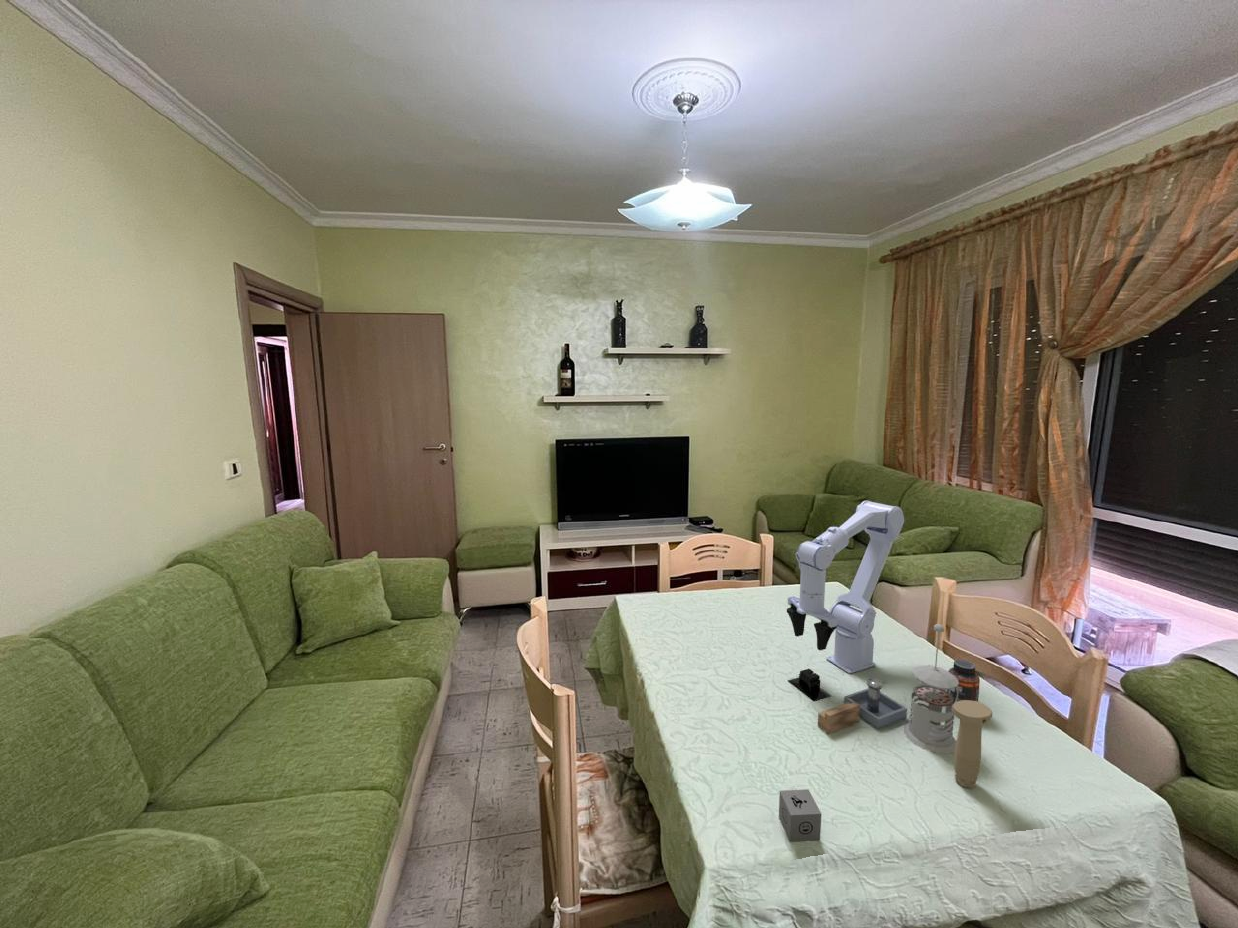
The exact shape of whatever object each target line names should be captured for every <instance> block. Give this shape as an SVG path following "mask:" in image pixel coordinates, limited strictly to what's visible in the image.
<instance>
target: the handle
mask: <svg viewBox="0 0 1238 928" xmlns="http://www.w3.org/2000/svg"><path fill="white" fill-rule="evenodd" d="M952 712H953V714H954V717H956V718H957V719H959V724H958V731H957V737H956V741H957V742H956V748H955V751H954V759H953V760H954V773H955V774H954V780H955V782H956V783H957V784H959V785H960V786H961V787H963V788H969V789H974V788H975V787H976V783H977V779H978V777H979V774H980V769H981V762H982V730H983V726H985V725H986V724H988V723H989V722H990V721H991V719H992V718H993V710H992V708H991V707H988V706H987V705H986V704H984V703H982V702H980V701H978V702H977V701H971V700H962V701H957V702H955V703H954V704H953V705H952Z"/></svg>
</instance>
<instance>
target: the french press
mask: <svg viewBox="0 0 1238 928" xmlns="http://www.w3.org/2000/svg"><path fill="white" fill-rule="evenodd" d="M933 631H935V632H937V640H936V650H935V651H936V652H935V653H936V654H935V664H934V665H931V664H926V665H918V666H915V667H913V668H912V675H913V676H914V677H915V679H916V680H918V681H919V682H920V683H922V684H917V685H915V686H914V687H913V691H912V693H911V696H910V697H911V698H910V712H909V721H908V722H907V723H906V724H904V726H903V734H904V735H905V737H906V738H907V739H908V740H909V741H910V742H911V743H913V744H914V745H916V746H917V747H920V748H921V749H923V750H926V751H929V752H932V753H937V754H950V753H951V754H952V753H955V748H956V742H957V739H955V737H954V735H953V734H954V726H955V725H954V724H955V722H954V720H955V715H954V714H953V712H952V705H953V704H954V703H953V702H954V698H953V697H952V695H951V694H950V692H951V689H954V688H955V687H956V686H957V697H956V700H955V702H957V699H958V692H959V688H958V680H957V678H956V677H955V676H954V675H952V674H951V673H949V672H948V671H949V670H948V671H947V670H946V669H945V668H943V667H939V666H937V663H938V662H937V661H938V654H939V653H938V652H939V641H940V633H944V632H945V626H943V625H942V624H941V623H937V624H934V626H933ZM948 689H949V693H948V692H947V690H948ZM914 697H916V698H914ZM918 701H921V702H925V703H927V704H925V703H921V702H918ZM943 707H945V712H943ZM942 723H944V724H942Z"/></svg>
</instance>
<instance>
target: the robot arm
mask: <svg viewBox="0 0 1238 928" xmlns="http://www.w3.org/2000/svg"><path fill="white" fill-rule="evenodd" d="M904 516H905V515H904V513H903V509H902V508H901V507H900V506H896V505H894V506H893V505H890V504H883V503H879V502H873V501H871V500H863V501H862V502H861V503H860V504H857V506H856V508H855V513H854V514H852V516H850V517H849V518H848V519H847V520H846V521H844V523H843V524H841V525H840V526H839V527H838V526H830V527H828V528H827V529H826V531H824V532H822V533H821V534H820V535H818V536H817V537H816V538H815V539H813V540H812V541H808V540H807V541H804V542H802V543H801V544H800V545H799V546H798V548H797V551H796V552H795V558H796V561H797V562H798V568H799V570H800V579H799V581H800V582H799V583H800V584H799V597H796V596H794V595H793V596H792V595H791V596H788V597H787V605H788V606H790V607H787V608H786V613H787V615H788V617H789V619H790V621H791V624H792V627H793V632H794V636H795V637H796V638H797V637H800V636H801V637H802V636H803V635H804V633H805V621H806V617H807V616H810V617H813V618H815V619H816V620H817V619H818V620H820V621H819V622H816V623H815V622H814V623H813V627H814V630H815V633H816V647H817V650H818V651H824V650H827V646H828V643H829V641H830V638H831V636H832V634H833V633H835V634H834V654H833V655H831V656H828V657H827V656H826V660H827V661H829V662H831V663H832V664H834V665H835V666H837V667H839V668H840V669H842V671H845V672H847V674H852V673H856V672H859V671H862V670H866V669H868V668H871V667H875V666H876V663H875V662H874V649H875V647H874V646H875V642H874V637H873V635H872V632H873V630H874V628H875V627H874V626H875V618H876V615H877V612H876V610H875V608H874V607H873V605H872V603H871V598H872V596H873V593H874V591H875V588H876V587H877V583H878V582H879V578H880V577H881V574H882V571H883V568H884V566H885V564H886V561H887V559H888V556H889V554H890V552H891V549H892V547H893V544H894V541H895V542H896V541H897V540H898V538H899V536H900V533H901V531H902V529H903V527H904V526H903V525H904V523H905V517H904ZM862 531H864V532H865V533H866V534H867V535H868V536H869V538H870V539H869V542H868V545H867V547H866V550H865V552H864V555H863V557H862V560H861V562H860V565H859V567H858V569H857V572H856V573H855V576H854V578H853V581H852V584H851V585H850V586H851V587H850V588H849V591H848V592H846V593H844V594H840V595H838V596H837V599H836V601H835V602H834V603H833V604H832V605H831V607H830V609H829V611H828V609H826V608H825V593H826V573H827V571H826V570H827V569H828V568H829V567H830V566H831V564H832V561H833V559H835V557H836V555H837V554H838V553H839V552H840V551H843V549H845V548H847V546H848V545H849V543H850V538H853V536H855V535H857V534H859V533H861V532H862ZM859 609H860V610H859Z"/></svg>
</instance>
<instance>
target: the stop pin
mask: <svg viewBox="0 0 1238 928" xmlns="http://www.w3.org/2000/svg"><path fill="white" fill-rule="evenodd" d="M883 685H884V684H883V681H882V680H880V679H878V678H875V677H868V678H867V679H866V686H867V689H868V702H867V710H868V711H870V712H872V713H878V712H879V703H880V692H881V690H882V689H883Z"/></svg>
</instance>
